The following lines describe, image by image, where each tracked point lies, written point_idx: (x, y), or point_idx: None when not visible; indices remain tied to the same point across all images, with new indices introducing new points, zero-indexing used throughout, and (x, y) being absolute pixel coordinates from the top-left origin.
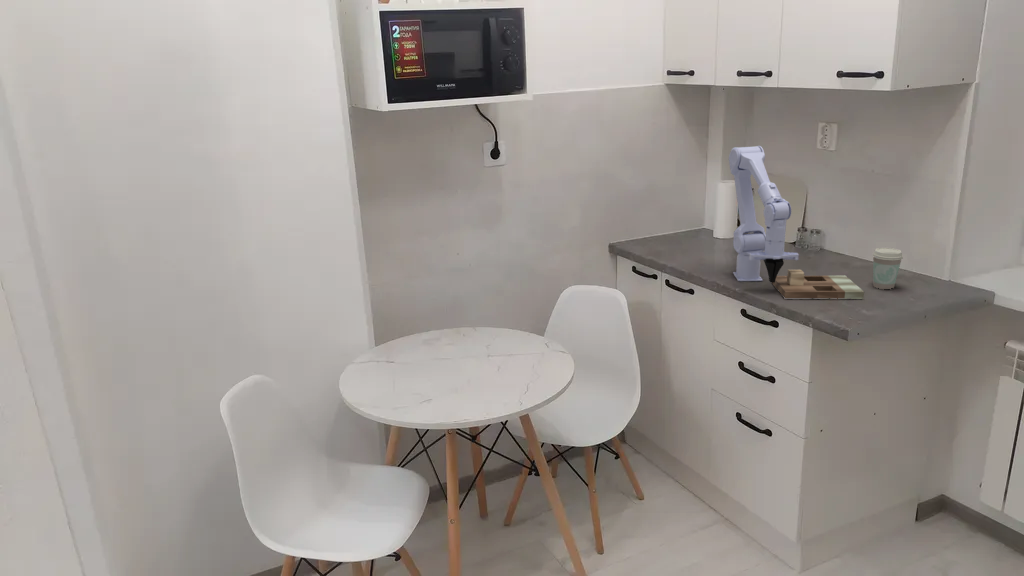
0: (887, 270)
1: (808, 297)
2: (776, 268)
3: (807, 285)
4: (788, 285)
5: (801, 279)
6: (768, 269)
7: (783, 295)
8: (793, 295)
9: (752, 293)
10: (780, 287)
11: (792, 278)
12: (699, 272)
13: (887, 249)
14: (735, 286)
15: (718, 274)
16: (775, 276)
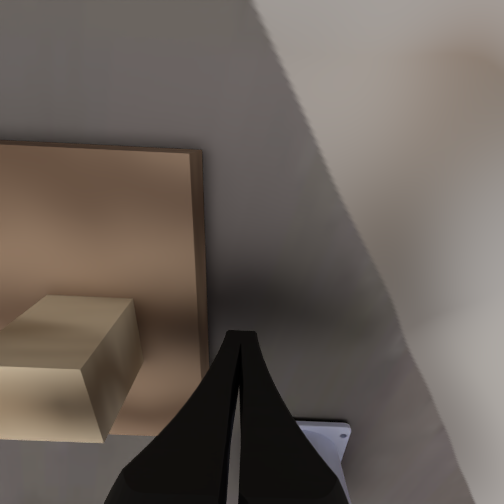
0: None
1: (36, 143)
2: (212, 426)
3: (19, 293)
4: (143, 299)
5: (28, 323)
6: (293, 422)
7: (200, 196)
8: (135, 149)
9: (356, 277)
10: (198, 287)
11: (93, 332)
12: (442, 499)
13: None
14: (390, 373)
15: (385, 483)
16: (222, 359)
